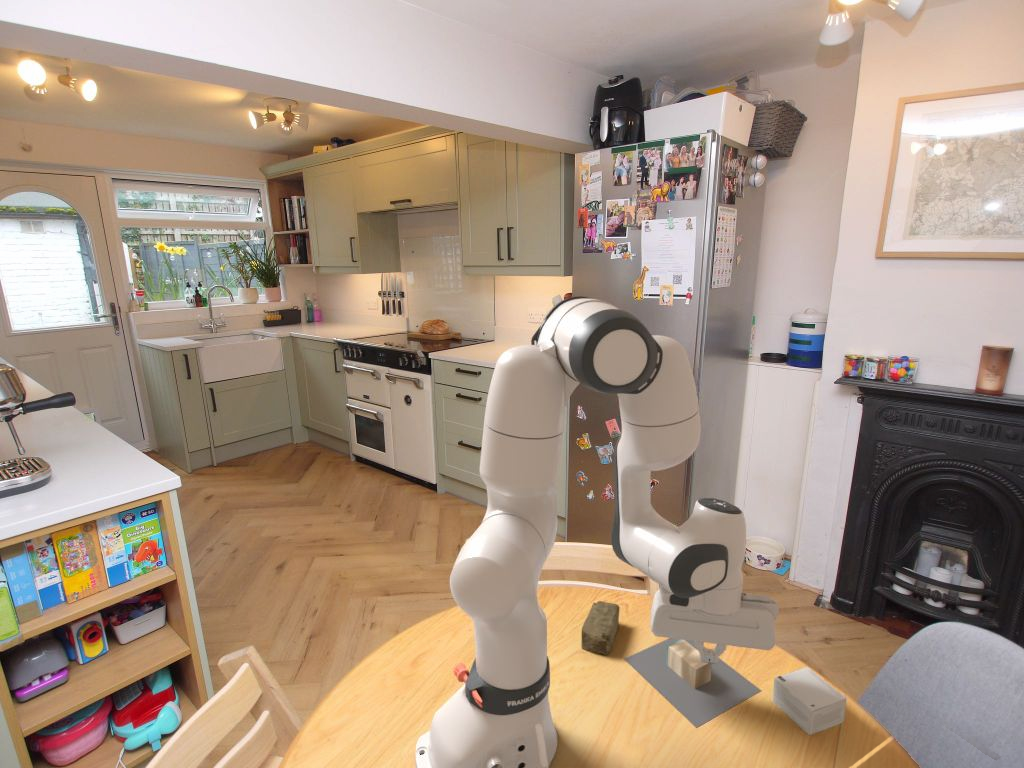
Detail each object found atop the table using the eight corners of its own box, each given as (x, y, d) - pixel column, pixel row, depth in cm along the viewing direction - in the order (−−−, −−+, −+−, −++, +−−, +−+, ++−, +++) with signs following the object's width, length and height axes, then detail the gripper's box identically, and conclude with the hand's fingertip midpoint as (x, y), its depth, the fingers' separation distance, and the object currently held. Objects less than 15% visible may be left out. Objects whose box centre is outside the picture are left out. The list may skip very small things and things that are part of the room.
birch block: (695, 669, 93) (667, 645, 99) (694, 689, 94) (666, 664, 100) (711, 661, 95) (682, 638, 101) (710, 680, 96) (681, 656, 102)
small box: (845, 725, 87) (848, 698, 86) (808, 739, 84) (811, 711, 83) (805, 690, 94) (807, 665, 93) (770, 702, 91) (772, 676, 90)
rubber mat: (696, 729, 86) (696, 727, 86) (623, 660, 102) (623, 658, 101) (761, 692, 93) (761, 690, 93) (684, 633, 109) (684, 631, 109)
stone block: (620, 623, 112) (620, 602, 111) (608, 660, 102) (609, 637, 101) (593, 617, 115) (593, 597, 114) (579, 652, 104) (580, 630, 103)
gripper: (774, 586, 91) (767, 656, 94) (651, 573, 95) (648, 641, 98) (785, 608, 85) (777, 682, 88) (653, 594, 89) (650, 665, 92)
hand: (708, 660), depth 93 cm, fingers closed
